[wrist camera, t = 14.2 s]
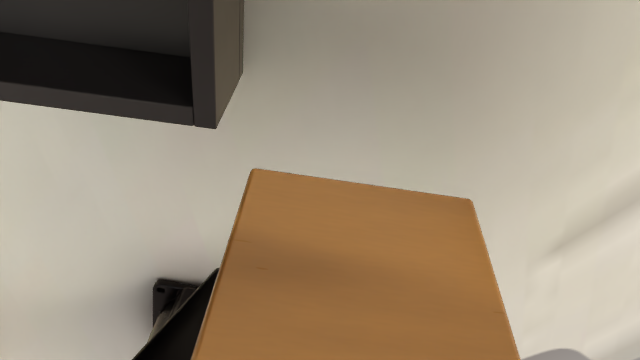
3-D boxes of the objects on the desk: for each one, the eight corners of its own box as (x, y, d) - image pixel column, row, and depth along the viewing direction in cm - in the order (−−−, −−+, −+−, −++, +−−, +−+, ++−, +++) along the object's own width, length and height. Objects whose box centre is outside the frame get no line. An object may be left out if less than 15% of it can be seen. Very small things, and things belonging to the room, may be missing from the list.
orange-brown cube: (416, 330, 11) (441, 541, 8) (244, 306, 11) (195, 510, 8) (473, 197, 9) (543, 425, 5) (251, 165, 9) (183, 377, 5)
